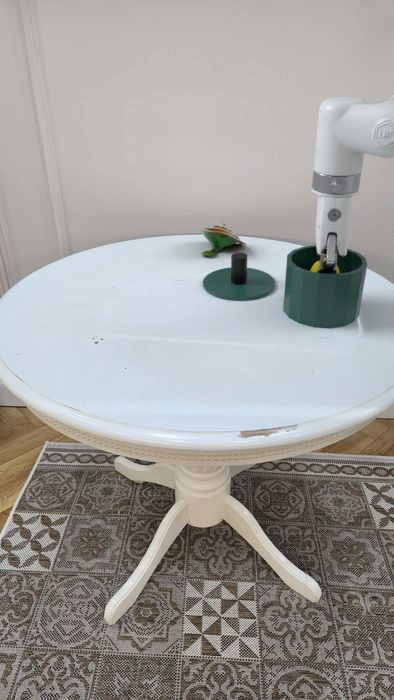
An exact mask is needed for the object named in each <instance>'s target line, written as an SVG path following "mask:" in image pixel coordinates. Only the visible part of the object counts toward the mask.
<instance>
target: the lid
mask: <svg viewBox="0 0 394 700" xmlns="http://www.w3.org/2000/svg"><path fill="white" fill-rule="evenodd" d="M202 287H203V290H205V292H207V293H208V294H209V295H211V296H213V297H216V298H219V299H223V300H228V301H240V302H241V301H252V300H258V299H261V298H263V297H267V296H268V295H269V294H271V293H272V292H273V291H274V289H275V287H276V281H275V279H274V277H273V276H272V275H270V274H269V273H268V272H265V271H264V270H260V269H256V268H252V267H248V254H247V253H245V252H234V253H232V254H231V255H230V267H224V268H220V269H216V270H213V271H211V272H210V273H208V274H207V275H205V277H204V278H203V279H202Z"/></svg>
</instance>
